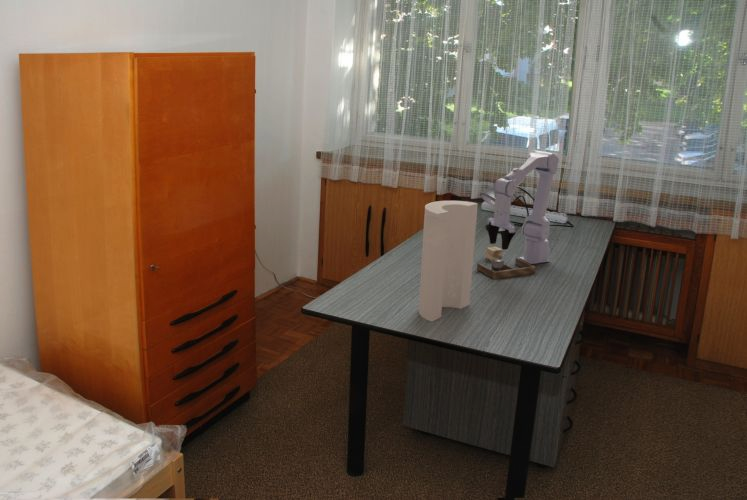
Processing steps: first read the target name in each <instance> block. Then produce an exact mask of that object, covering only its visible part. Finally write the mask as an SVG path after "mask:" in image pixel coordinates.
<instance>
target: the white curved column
mask: <svg viewBox="0 0 747 500" xmlns="http://www.w3.org/2000/svg"><path fill="white" fill-rule="evenodd" d="M423 217H424V218H423V233H422V234H423V235H422V251H421V263H420V265H421V266H420V283H419V296H418V297H419V299H418V300H419V301H418V313H419V314H418V315H420V317H422V318H423V319H424V320H426V321H428V322H429V323H430V322H433V321H436V320H438V319H440V318H442V310H443V308H455V309H459V310H461V309H463V308H466V307H469V306H470V301H471V300H470V299H471V291H472V290H471V289H472V276H473V265H474V254H475V253H474V252H475V243H476V242H475V241H476V231H477V230H476V229H477V218H478V203H477V202H472V201H466V200H465V201H464V200H438V201H436V200H435V201H432V202H429V203H427V204H425V205H424V216H423Z"/></svg>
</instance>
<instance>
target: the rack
mask: <svg viewBox="0 0 747 500" xmlns="http://www.w3.org/2000/svg"><path fill="white" fill-rule="evenodd" d="M514 264H515V265H516V266H518V267H519V268H518V267H517V268H514V267H511V266H510V265H508V264H506V263H504V262H503V271H496V272H495V271H493V270H491V268H489V267H487V266H485V265H483V264H481V263H480V262H477V266H476V271H477V270H478V271H479V272H481V273H482V274H485V275H486V276H487V277H489V278H491V279H494V280H496V279H502V278H503V279H505V278H509V277H517V276H523V275H530V274H535V273H536V266H534V265H533V264H530V263H528V262H525V261H523V260H521V259H519V257H518V258H517V257H515V263H514Z"/></svg>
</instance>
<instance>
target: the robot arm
mask: <svg viewBox="0 0 747 500" xmlns="http://www.w3.org/2000/svg"><path fill="white" fill-rule="evenodd" d="M558 157H559V156H558V155H557V153H555V152H547V151H543V150H542V151H541V150H537V149H533V150H532V151H531V152H530V153H529V154H528V158H527V160H526V161H525V162H524V163H523V164H522V165H521V166H519V167H513V168H512V170H511V171H509V173H508V174H506V175H505V176H504V177H503V178H498V179H496V180H495V182H494V183H493V187H492V190H493V193H494V194H493V195H494V196H493V197H494V199H495V202H494V203H495V204H494V209H493V211H494V212H493V217H488V218H487V220H486V221H487V222H486V223H487V224H486V225H485V229H486V231H487V233H488V237H489V244H490V245H495V244H496V243H497V239H498V234H499V233H500V236H501V249H502V250H503V251H504V250H508V249H509V246H510V244H511V241H512V240H513V237H514V236H515V235H516V227H515V226H513V225H512V224H511V223H510V217H511V216H510V215H511V206H512V196H513V195H515V192H516V190H517V189H518V187H519V185H520V184H522V183H523V182H524V181H525V179H526V175H528V174H530V173H531V172H532V171H534V170H535V171H536V172H537V173H538V175H539V178H538V181H537V182H538V183H537V187H536V192H535V196H534V201H533V207H532V211H531V214H530V215H528V216H526V217H525V218H524V219H525V220H524V222H523V224H522V227H521V233H522V235H523V238H524V239H525V241H524V252H523V256H519V257H518V259H520V260H522V261H524V262H526V263H528V264H530V265H533V264H541V263H548V262H550V260H549V255H550V248H551V246H550V242H549V240H548V238H549V236H550V233H551V229H550V225H551V221H549V219H548V218H547V217H546V214H547V213H546V212H547V208H548V203H549V199H550V194H551V190H552V186H553V185H552V184H553V181H554V175H556V174H557V170H558V166H559V165H558V164H559V159H560V158H558ZM500 229H502V230H500ZM499 231H500V232H499Z"/></svg>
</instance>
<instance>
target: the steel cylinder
mask: <svg viewBox="0 0 747 500" xmlns="http://www.w3.org/2000/svg"><path fill="white" fill-rule="evenodd" d="M503 263H504V260H503V258H502V259H492V261H491V267H490V269H491V270H493V271H495V272H496V271H503Z"/></svg>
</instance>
